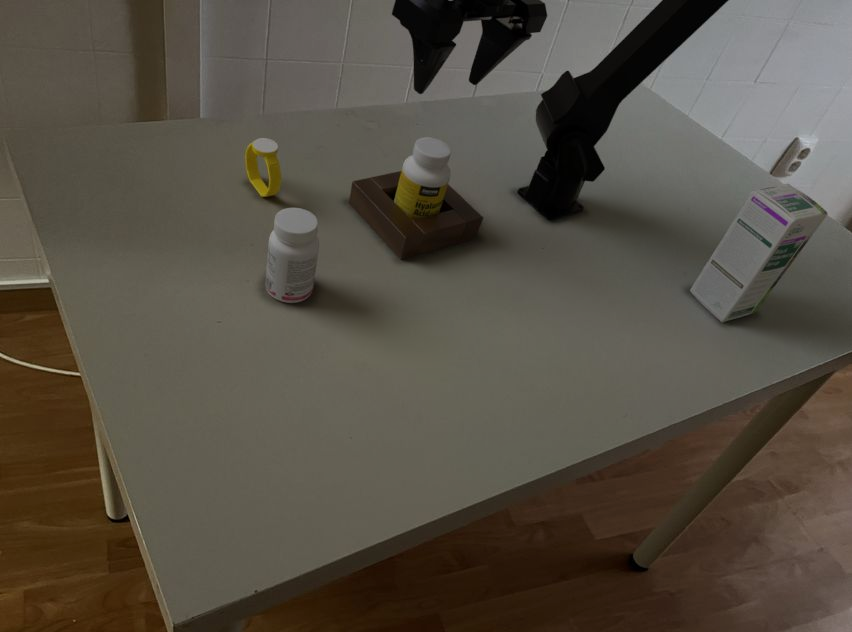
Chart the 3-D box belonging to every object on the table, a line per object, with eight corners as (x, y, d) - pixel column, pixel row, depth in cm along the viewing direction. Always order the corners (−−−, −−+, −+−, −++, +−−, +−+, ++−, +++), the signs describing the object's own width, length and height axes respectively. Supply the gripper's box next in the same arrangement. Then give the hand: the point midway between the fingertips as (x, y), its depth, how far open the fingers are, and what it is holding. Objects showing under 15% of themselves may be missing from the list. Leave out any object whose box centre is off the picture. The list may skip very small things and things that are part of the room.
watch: (238, 177, 83) (240, 131, 78) (259, 173, 84) (262, 127, 80) (262, 207, 80) (266, 161, 75) (284, 202, 81) (289, 156, 77)
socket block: (422, 185, 89) (428, 165, 87) (476, 238, 83) (483, 217, 81) (348, 202, 83) (352, 181, 81) (400, 260, 78) (406, 238, 76)
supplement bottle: (407, 239, 81) (427, 164, 74) (381, 211, 83) (398, 136, 76) (444, 229, 83) (467, 156, 76) (418, 202, 86) (438, 130, 79)
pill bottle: (319, 282, 73) (330, 215, 67) (301, 310, 69) (310, 243, 63) (277, 266, 73) (284, 198, 67) (256, 293, 70) (261, 224, 64)
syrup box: (722, 324, 81) (798, 221, 70) (686, 290, 84) (754, 187, 74) (754, 314, 83) (832, 213, 73) (718, 281, 86) (788, 180, 76)
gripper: (501, -94, 77) (451, 45, 88) (378, -104, 66) (338, 57, 76) (578, -47, 73) (515, 92, 84) (461, -49, 61) (406, 113, 72)
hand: (446, 87), depth 79 cm, fingers open, 9 cm apart
